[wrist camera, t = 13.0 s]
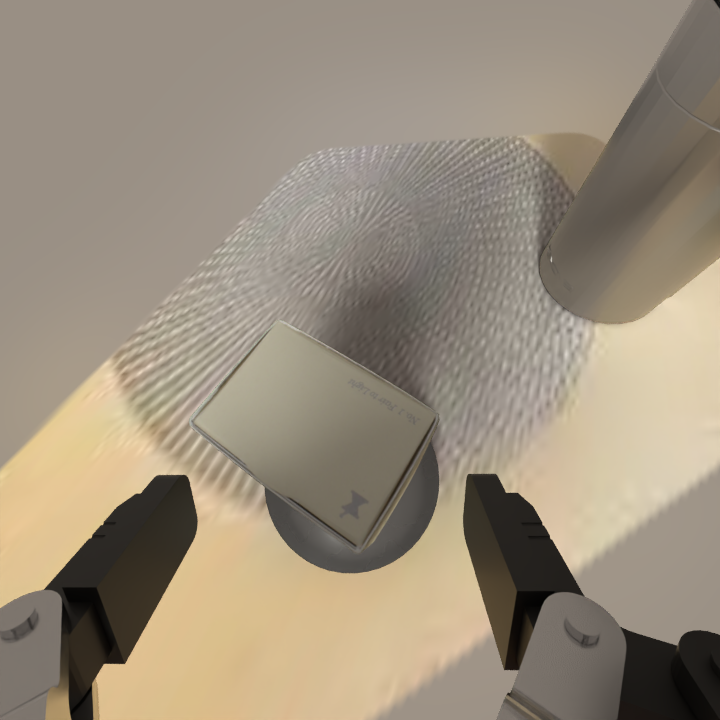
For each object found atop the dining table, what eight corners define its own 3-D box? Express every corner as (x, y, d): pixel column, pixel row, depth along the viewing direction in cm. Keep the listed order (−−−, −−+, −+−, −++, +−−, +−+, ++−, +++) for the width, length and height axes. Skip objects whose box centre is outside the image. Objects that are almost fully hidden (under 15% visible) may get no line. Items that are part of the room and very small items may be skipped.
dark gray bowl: (411, 394, 27) (415, 378, 24) (450, 550, 22) (461, 552, 20) (271, 420, 26) (259, 407, 23) (284, 584, 22) (271, 591, 19)
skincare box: (414, 476, 21) (455, 414, 10) (370, 548, 20) (365, 566, 9) (325, 416, 23) (280, 309, 12) (279, 479, 22) (180, 422, 11)
